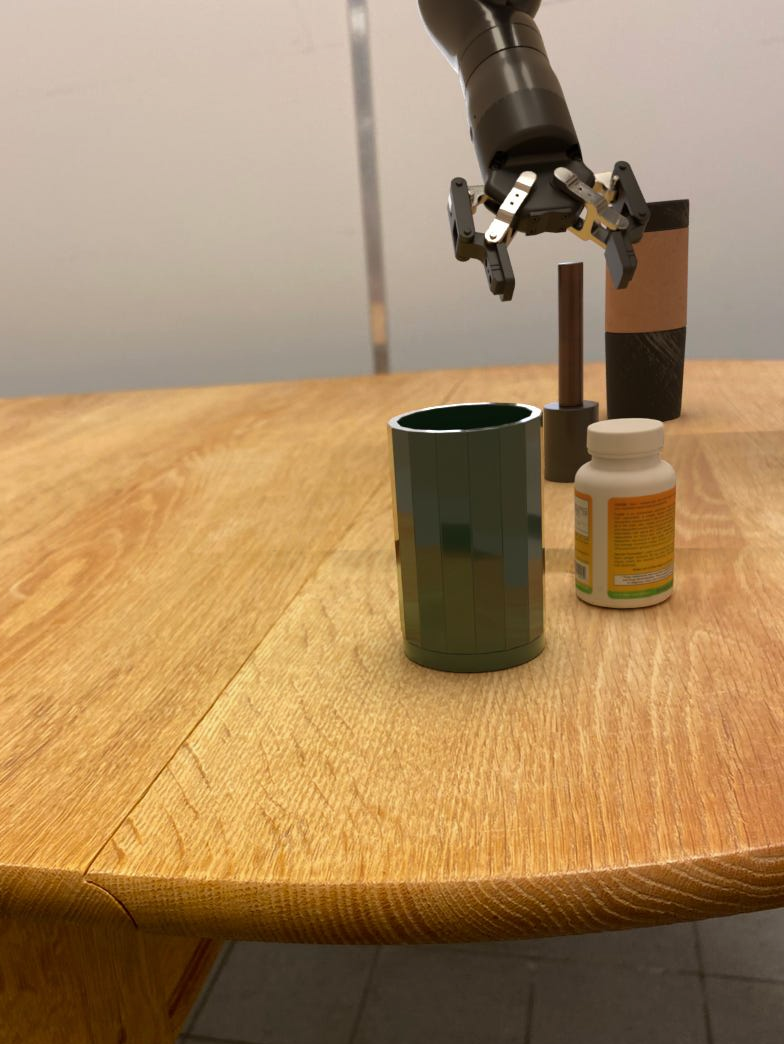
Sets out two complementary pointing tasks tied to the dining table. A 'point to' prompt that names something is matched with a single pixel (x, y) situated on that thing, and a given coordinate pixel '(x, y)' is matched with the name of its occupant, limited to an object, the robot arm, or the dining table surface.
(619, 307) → the travel mug
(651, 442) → the supplement bottle
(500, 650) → the cup
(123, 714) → the dining table surface
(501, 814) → the dining table surface
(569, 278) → the peg on round base
